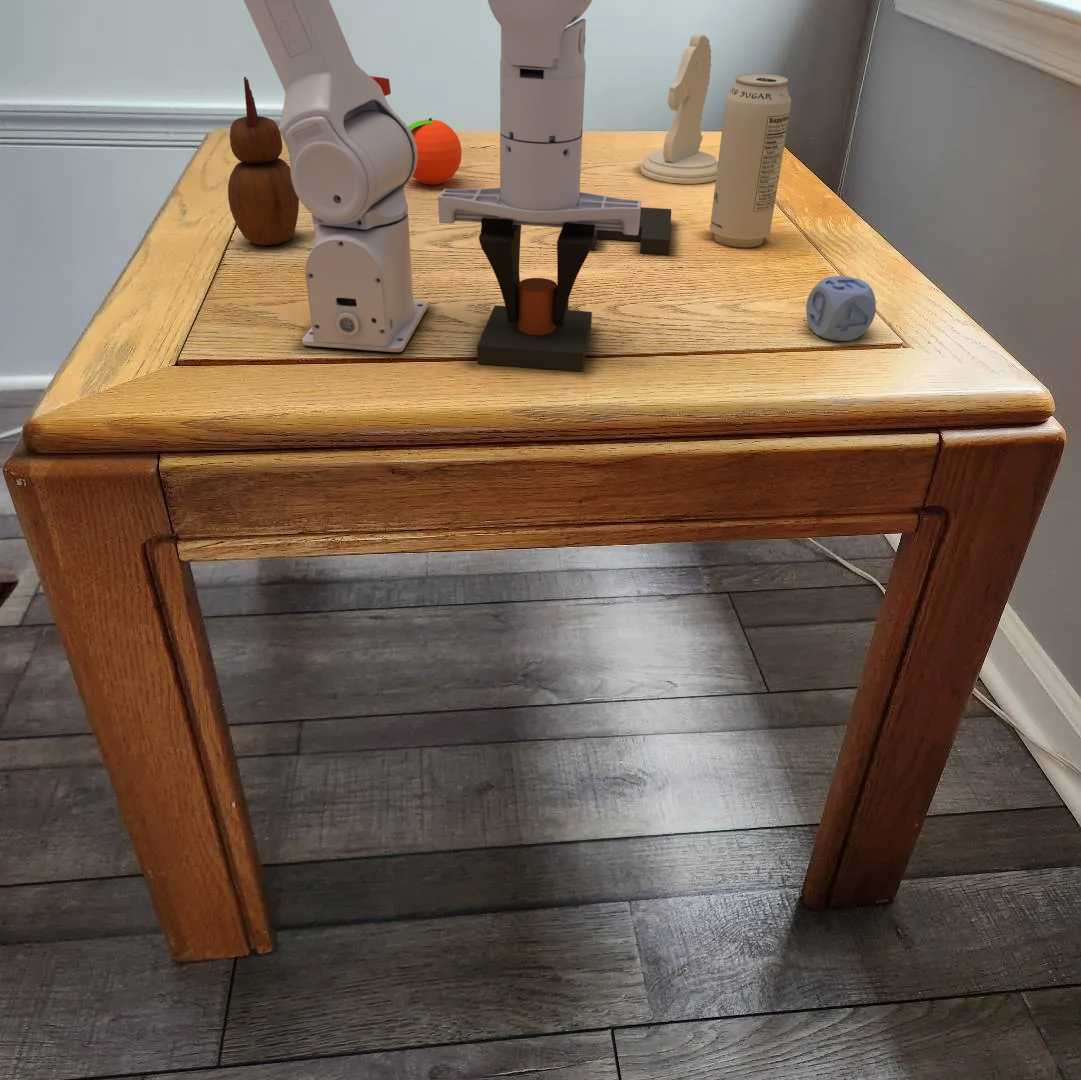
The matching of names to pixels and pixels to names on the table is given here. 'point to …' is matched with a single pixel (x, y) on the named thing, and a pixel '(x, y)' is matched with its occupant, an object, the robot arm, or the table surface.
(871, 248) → the table surface
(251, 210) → the wooden figurine
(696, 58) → the chess piece
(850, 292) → the decorative dice
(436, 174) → the clementine
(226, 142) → the table surface
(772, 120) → the energy drink can
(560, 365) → the pad
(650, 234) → the base pad
